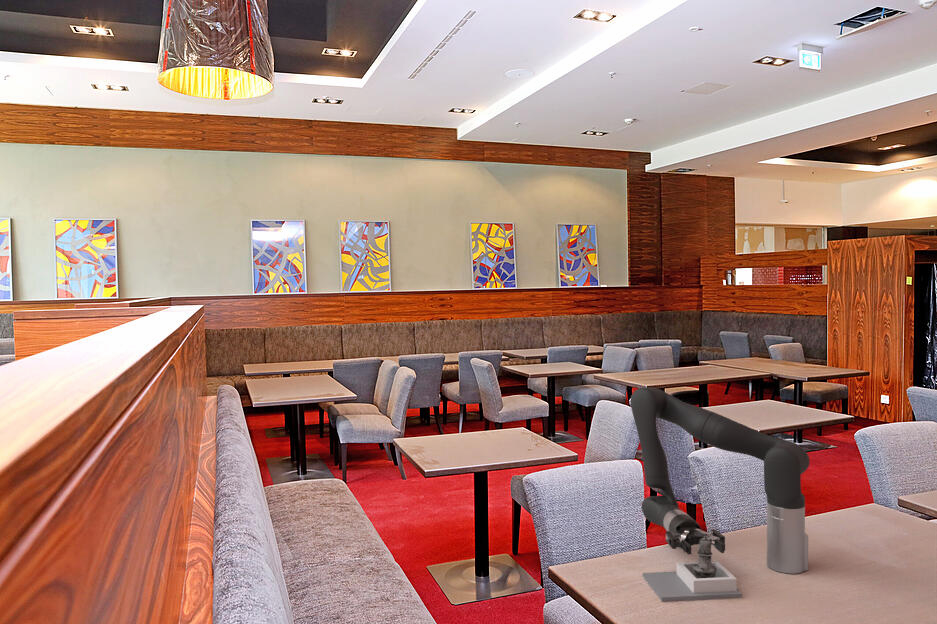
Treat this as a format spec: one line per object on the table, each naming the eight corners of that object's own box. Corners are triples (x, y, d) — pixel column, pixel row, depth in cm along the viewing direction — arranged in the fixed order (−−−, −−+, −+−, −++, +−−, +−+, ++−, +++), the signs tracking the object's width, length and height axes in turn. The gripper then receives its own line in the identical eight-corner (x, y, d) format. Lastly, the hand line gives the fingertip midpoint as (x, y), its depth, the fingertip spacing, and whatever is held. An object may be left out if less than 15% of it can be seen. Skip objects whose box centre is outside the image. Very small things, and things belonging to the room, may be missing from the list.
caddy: (716, 573, 179) (716, 558, 178) (741, 597, 165) (741, 581, 165) (642, 576, 177) (642, 561, 177) (661, 601, 163) (661, 585, 163)
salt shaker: (719, 587, 168) (719, 540, 167) (694, 586, 169) (694, 538, 169) (715, 577, 174) (715, 531, 173) (691, 576, 175) (691, 530, 174)
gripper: (656, 514, 186) (679, 536, 170) (706, 512, 187) (734, 534, 171) (656, 541, 186) (679, 565, 170) (706, 539, 187) (734, 563, 171)
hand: (706, 549), depth 170 cm, fingers open, 8 cm apart
